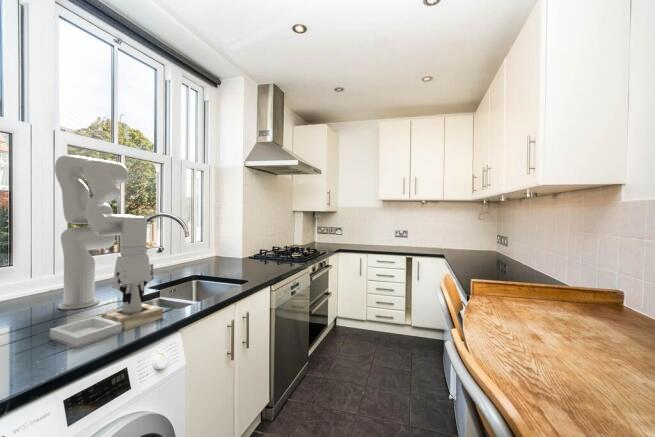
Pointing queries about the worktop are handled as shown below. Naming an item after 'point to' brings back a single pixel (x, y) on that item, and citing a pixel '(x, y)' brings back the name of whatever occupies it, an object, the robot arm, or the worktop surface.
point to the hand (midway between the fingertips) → (132, 301)
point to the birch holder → (135, 316)
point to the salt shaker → (133, 301)
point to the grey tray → (85, 331)
